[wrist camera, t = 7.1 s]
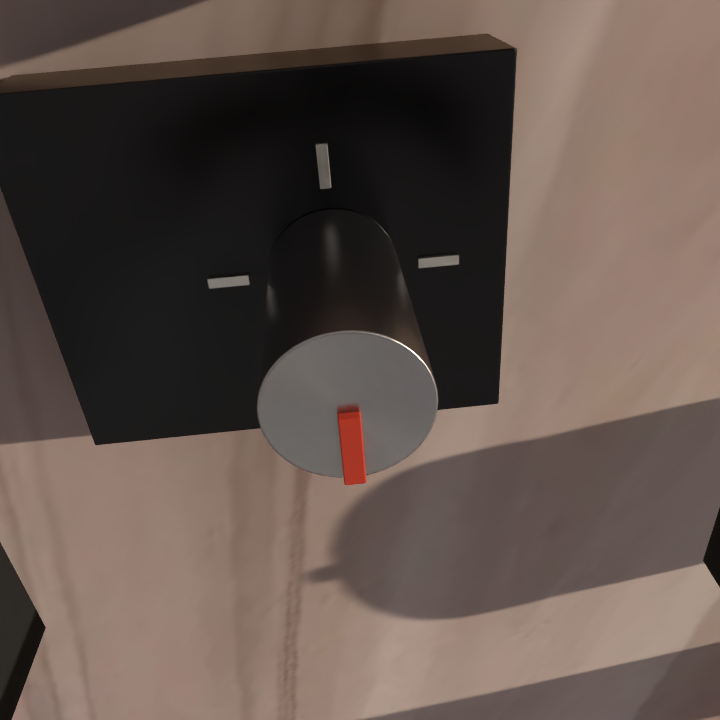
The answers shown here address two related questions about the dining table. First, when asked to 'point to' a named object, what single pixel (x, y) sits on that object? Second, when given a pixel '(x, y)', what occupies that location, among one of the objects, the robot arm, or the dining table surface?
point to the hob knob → (342, 351)
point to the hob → (254, 212)
